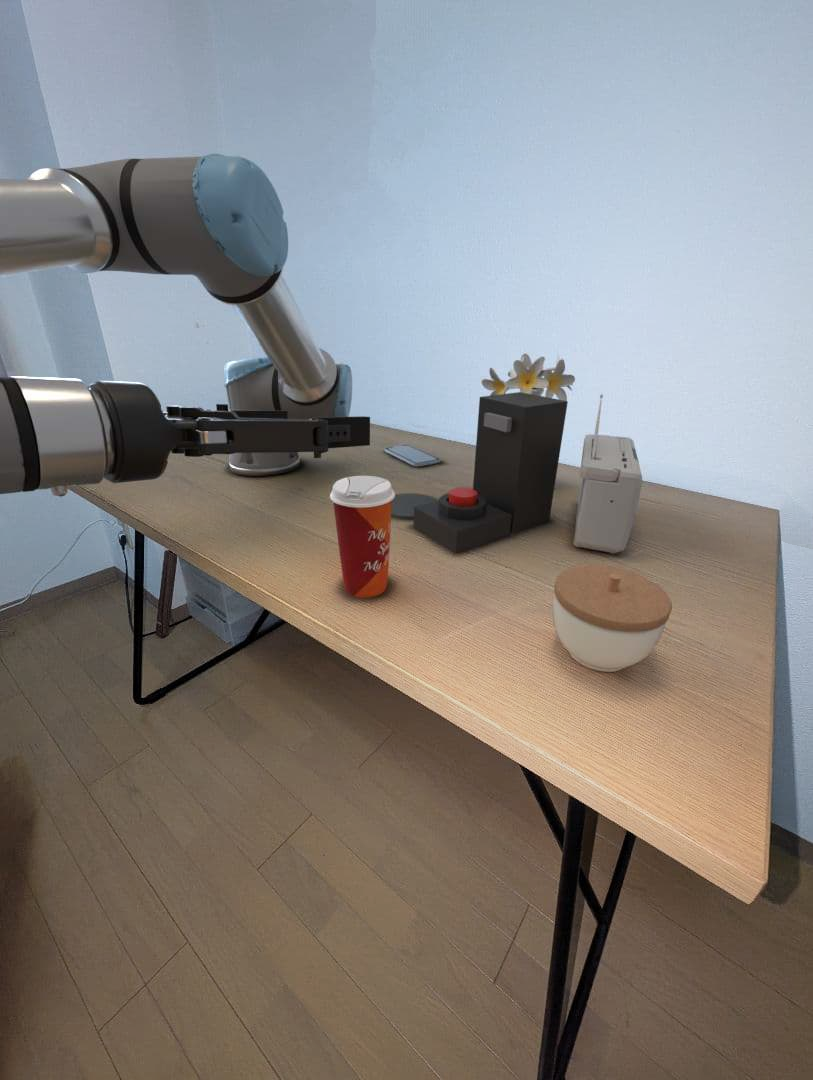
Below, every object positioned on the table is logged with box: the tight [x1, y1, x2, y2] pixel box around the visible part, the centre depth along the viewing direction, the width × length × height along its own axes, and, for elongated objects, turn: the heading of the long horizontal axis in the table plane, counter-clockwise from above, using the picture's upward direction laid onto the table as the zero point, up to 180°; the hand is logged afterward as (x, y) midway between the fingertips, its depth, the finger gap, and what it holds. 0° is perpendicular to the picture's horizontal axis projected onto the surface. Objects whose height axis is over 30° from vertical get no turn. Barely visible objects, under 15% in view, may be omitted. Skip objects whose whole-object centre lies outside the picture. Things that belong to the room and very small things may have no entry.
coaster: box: [391, 493, 439, 520], centre depth 85 cm, size 11×11×1 cm
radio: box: [573, 393, 643, 555], centre depth 74 cm, size 21×8×20 cm, turn 160°
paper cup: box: [329, 475, 396, 599], centre depth 58 cm, size 8×8×14 cm
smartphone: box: [384, 444, 441, 468], centre depth 114 cm, size 7×1×15 cm
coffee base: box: [413, 492, 512, 554], centre depth 75 cm, size 11×11×6 cm
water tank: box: [472, 391, 569, 534], centre depth 77 cm, size 10×10×20 cm
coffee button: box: [448, 487, 477, 506], centre depth 74 cm, size 4×4×2 cm
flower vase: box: [481, 352, 576, 401], centre depth 92 cm, size 13×18×25 cm
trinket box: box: [552, 564, 673, 673], centre depth 48 cm, size 11×11×9 cm
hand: (323, 426), depth 50 cm, fingers open, 13 cm apart
